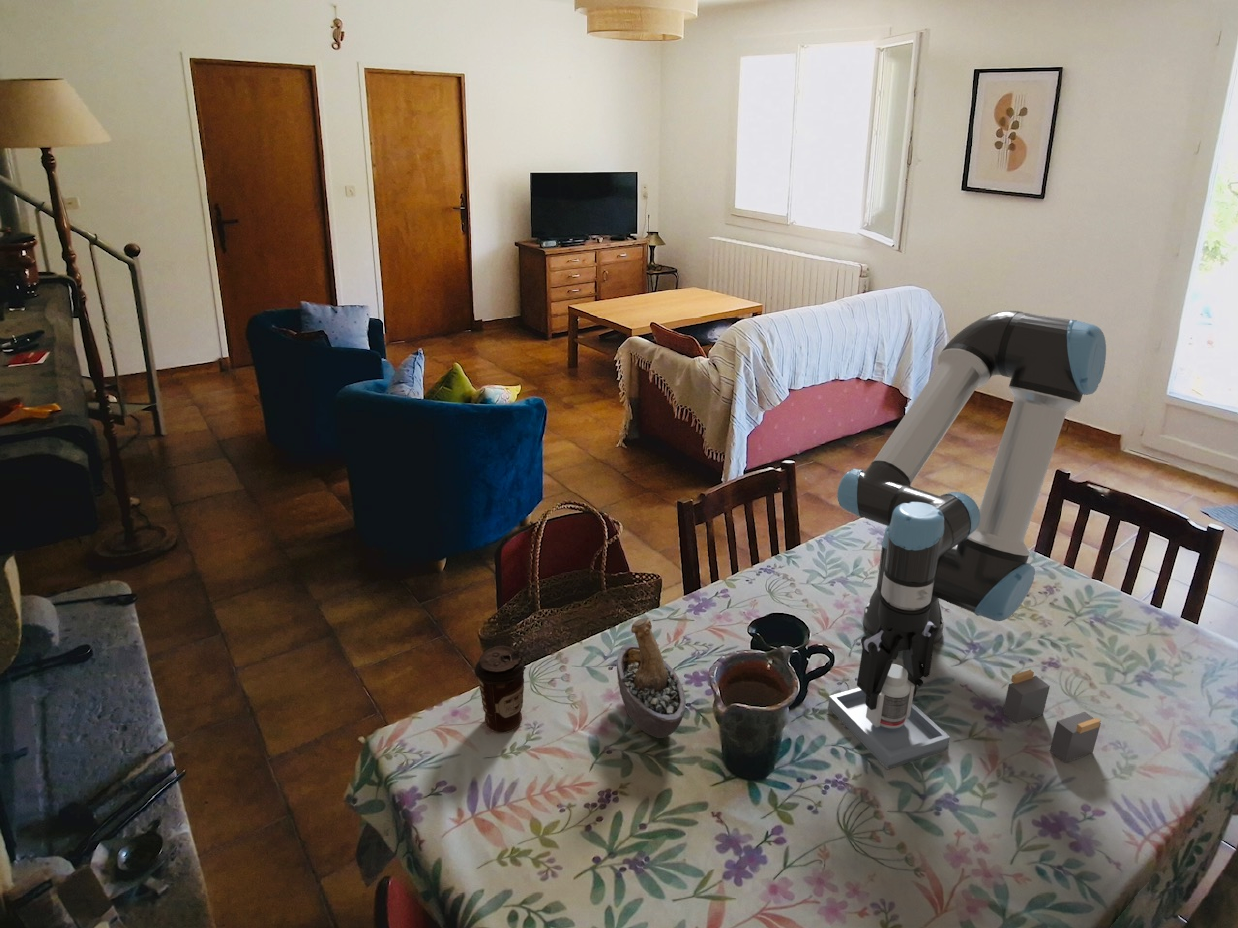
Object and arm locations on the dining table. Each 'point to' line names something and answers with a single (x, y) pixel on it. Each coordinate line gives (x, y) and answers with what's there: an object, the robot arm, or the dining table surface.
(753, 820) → the dining table surface
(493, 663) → the drink can
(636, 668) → the planter
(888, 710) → the pill bottle
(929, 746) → the tray
